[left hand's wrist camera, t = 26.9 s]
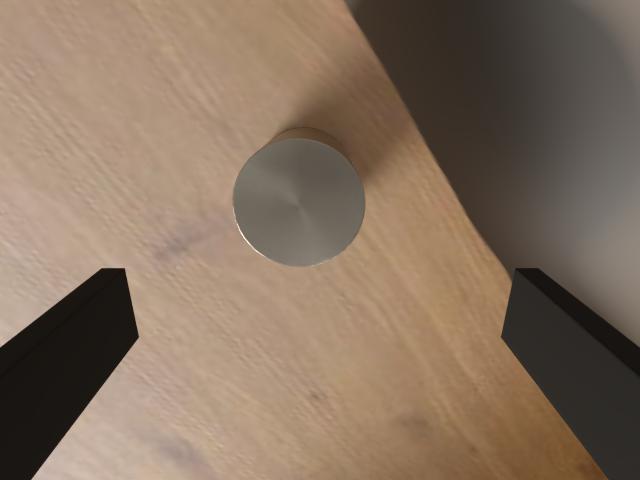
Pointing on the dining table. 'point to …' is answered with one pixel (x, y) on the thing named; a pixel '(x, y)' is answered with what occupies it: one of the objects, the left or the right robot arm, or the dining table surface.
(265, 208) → the can
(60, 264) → the dining table surface
